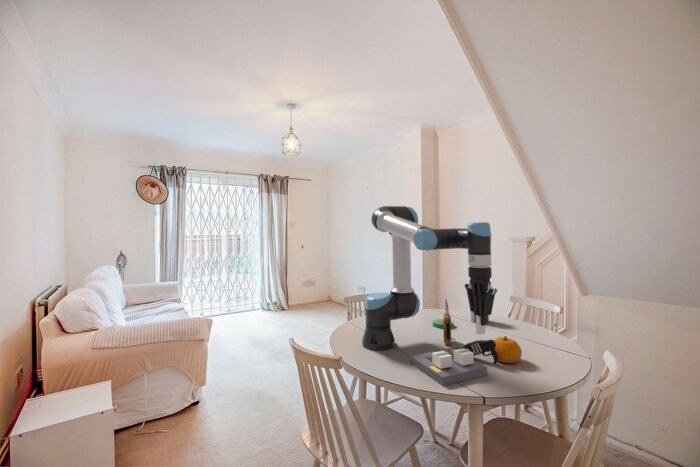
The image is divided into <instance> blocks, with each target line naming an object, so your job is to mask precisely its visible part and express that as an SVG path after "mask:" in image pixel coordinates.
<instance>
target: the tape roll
mask: <svg viewBox="0 0 700 467" xmlns="http://www.w3.org/2000/svg"><path fill="white" fill-rule="evenodd" d="M454 323H455V322H454V321H453V320H451V329H453V328H454V326H455V325H454ZM432 327H434V328H436V329H440V330H444V318H436V319H433V320H432Z"/></svg>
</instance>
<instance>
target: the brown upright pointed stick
mask: <svg viewBox="0 0 700 467" xmlns="http://www.w3.org/2000/svg"><path fill="white" fill-rule="evenodd" d="M447 301H448V300H447V299H445V301H444V302H445V305H446V306H445V308H444V310H445V313H443V314H442V315H443V316H442V317H443V319H444V329H443V343H444V345H445V346H450V348H451V349H453V350H458V349H461V348H462V347H463V346H465V345H466V344H465V343H463V342H459V341H456V339H455V338H452V328H451V321H452V317H451V315H450V312H449V305H448V302H447ZM452 340H454V342H455V343H457V344H459V346H457V347H456V348H454V347H452Z"/></svg>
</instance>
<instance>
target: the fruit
mask: <svg viewBox="0 0 700 467" xmlns="http://www.w3.org/2000/svg"><path fill="white" fill-rule="evenodd" d="M493 340H494V341H495V343H496V347H495V351H496V353H497V357H498V361H497V362H501V363H503V364H504V363H505V364H514V363H517V362H519V361H520V360H521V359H522V354H523V352H522V348H521V346H520V344H519V343H518V342H517V341H516V340H515V339H513V338H510V337H507V335H505V336H501V337H500V336H499V337H496V338H494V339H493ZM491 356H492V357H493V355H491Z"/></svg>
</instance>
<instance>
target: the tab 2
mask: <svg viewBox="0 0 700 467" xmlns="http://www.w3.org/2000/svg"><path fill="white" fill-rule="evenodd" d="M453 350H454V361H455V362H457V363H459V364H461V365H462V366H464V365H469V364H473V363H474V356H475V355H474V353H473V352H471V351H469V349H465V348H463V349H461V348H457V349H453Z"/></svg>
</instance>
